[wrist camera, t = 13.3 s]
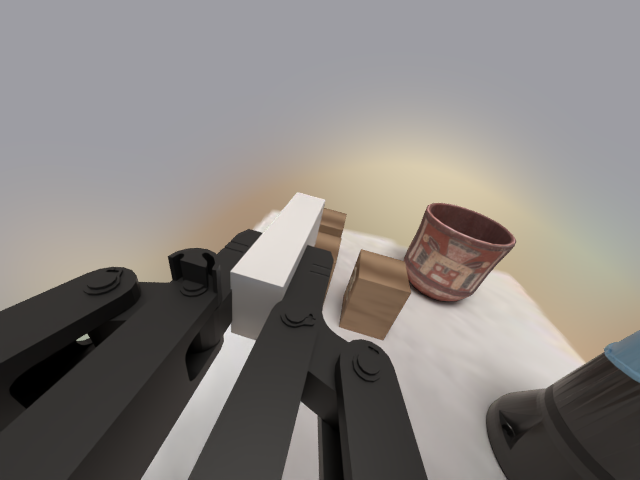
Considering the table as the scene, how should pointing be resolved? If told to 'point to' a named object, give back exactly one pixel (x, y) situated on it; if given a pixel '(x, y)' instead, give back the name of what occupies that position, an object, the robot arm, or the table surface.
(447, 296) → the pottery
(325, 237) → the brown wooden block
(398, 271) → the walnut block marked 2
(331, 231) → the walnut block marked 1
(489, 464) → the table surface
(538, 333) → the table surface
